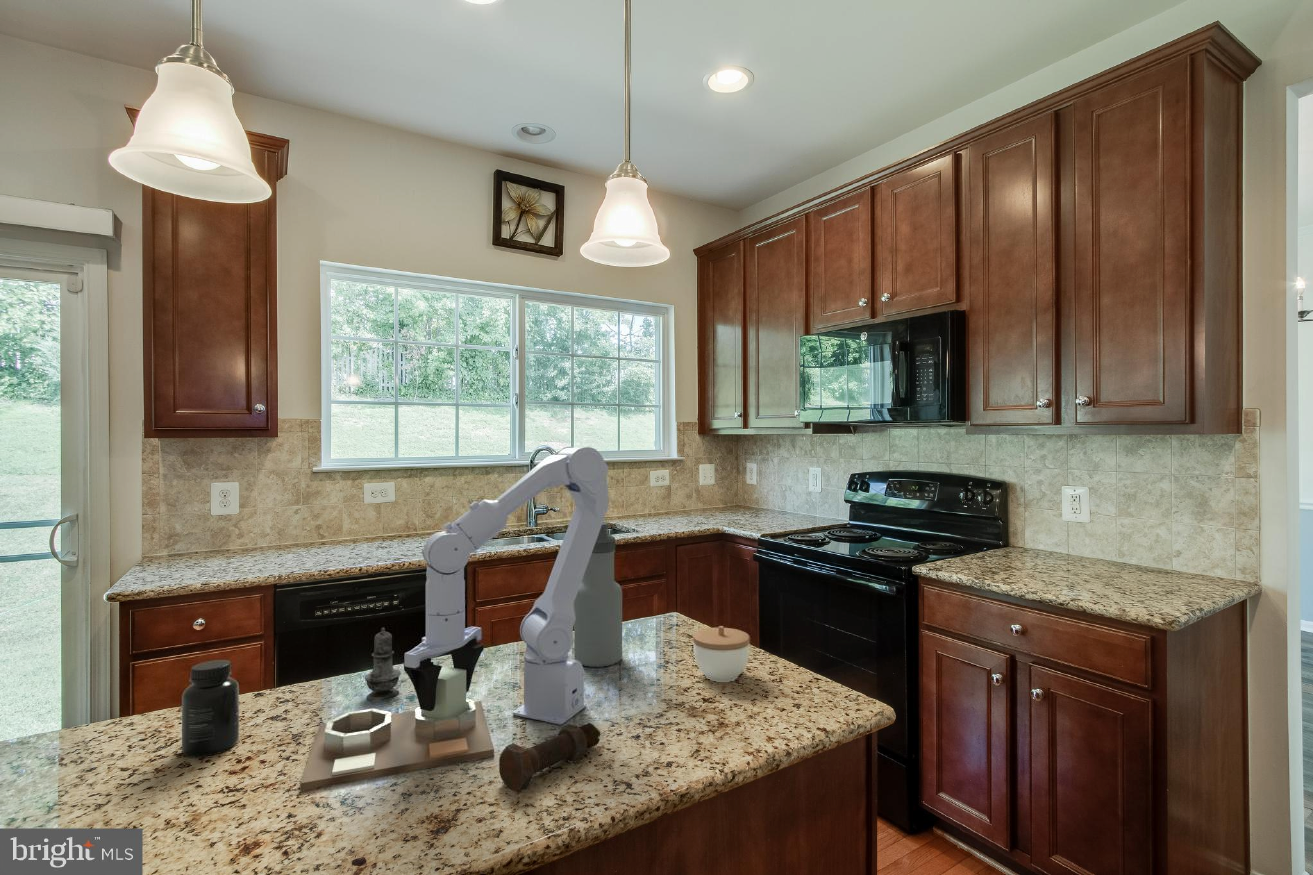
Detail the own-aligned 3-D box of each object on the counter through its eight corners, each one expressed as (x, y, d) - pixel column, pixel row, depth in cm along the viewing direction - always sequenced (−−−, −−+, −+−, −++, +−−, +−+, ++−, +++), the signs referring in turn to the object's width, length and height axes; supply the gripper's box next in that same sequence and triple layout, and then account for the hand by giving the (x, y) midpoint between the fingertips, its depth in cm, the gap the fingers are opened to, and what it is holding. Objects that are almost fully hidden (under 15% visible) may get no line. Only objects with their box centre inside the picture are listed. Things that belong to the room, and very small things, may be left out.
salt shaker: (387, 703, 107) (387, 632, 107) (356, 700, 108) (357, 630, 108) (407, 690, 113) (408, 623, 113) (378, 687, 114) (378, 621, 114)
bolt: (597, 760, 91) (513, 802, 80) (577, 734, 94) (493, 771, 83) (612, 731, 90) (528, 769, 78) (591, 705, 93) (507, 738, 81)
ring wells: (472, 709, 102) (472, 694, 102) (477, 732, 94) (477, 715, 94) (329, 731, 94) (329, 714, 94) (322, 757, 86) (322, 739, 86)
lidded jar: (682, 680, 117) (682, 629, 117) (709, 662, 126) (708, 616, 126) (735, 691, 112) (735, 638, 112) (758, 672, 121) (758, 624, 121)
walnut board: (480, 706, 105) (480, 700, 105) (494, 756, 89) (494, 749, 89) (319, 731, 97) (319, 724, 97) (300, 790, 80) (300, 783, 80)
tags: (465, 740, 91) (465, 737, 91) (467, 751, 88) (467, 748, 88) (335, 762, 85) (335, 759, 85) (332, 775, 82) (332, 772, 82)
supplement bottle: (249, 740, 94) (250, 659, 94) (203, 762, 87) (204, 675, 88) (217, 733, 96) (217, 654, 96) (169, 754, 90) (170, 670, 90)
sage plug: (466, 721, 97) (466, 670, 98) (446, 733, 93) (446, 679, 94) (443, 717, 99) (443, 666, 99) (423, 728, 95) (423, 675, 95)
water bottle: (571, 653, 132) (571, 520, 133) (617, 649, 135) (616, 518, 135) (577, 670, 122) (576, 526, 123) (626, 666, 125) (626, 524, 125)
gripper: (457, 597, 105) (457, 679, 105) (388, 620, 91) (388, 713, 91) (491, 601, 102) (491, 685, 102) (425, 625, 89) (425, 722, 88)
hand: (445, 699), depth 96 cm, fingers open, 7 cm apart
